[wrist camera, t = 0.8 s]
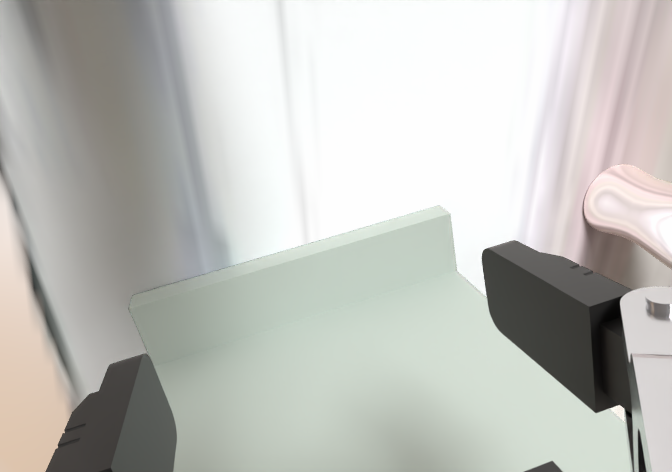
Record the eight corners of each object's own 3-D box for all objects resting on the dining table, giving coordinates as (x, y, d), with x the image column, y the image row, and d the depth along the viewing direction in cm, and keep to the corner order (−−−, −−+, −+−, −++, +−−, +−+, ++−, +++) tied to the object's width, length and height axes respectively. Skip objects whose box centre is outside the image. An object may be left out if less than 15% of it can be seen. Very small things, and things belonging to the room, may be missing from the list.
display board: (132, 295, 36) (24, 687, 14) (438, 205, 39) (729, 408, 18) (185, 419, 41) (167, 852, 19) (454, 329, 44) (697, 608, 22)
